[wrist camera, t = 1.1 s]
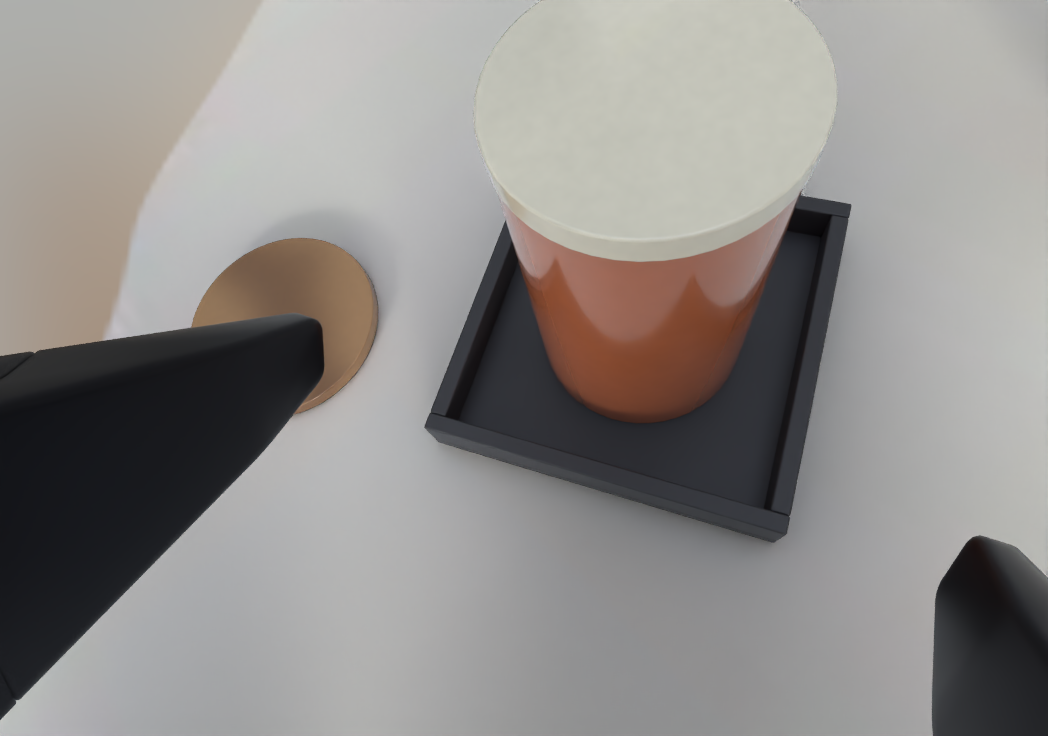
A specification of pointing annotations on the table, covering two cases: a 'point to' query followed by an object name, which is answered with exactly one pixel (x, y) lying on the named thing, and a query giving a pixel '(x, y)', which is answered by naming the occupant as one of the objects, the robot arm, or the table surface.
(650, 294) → the canister
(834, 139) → the table surface
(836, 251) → the tray
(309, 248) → the coaster
